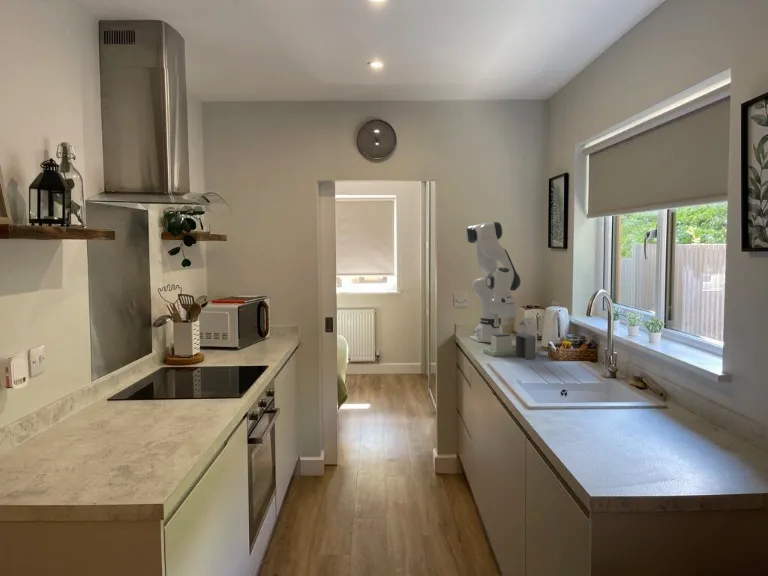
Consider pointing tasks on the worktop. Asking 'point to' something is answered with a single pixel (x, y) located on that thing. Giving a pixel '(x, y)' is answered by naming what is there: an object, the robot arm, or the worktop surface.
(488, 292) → the robot arm
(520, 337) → the open-top grey box
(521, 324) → the milk carton
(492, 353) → the tray
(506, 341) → the cream box grey panel
